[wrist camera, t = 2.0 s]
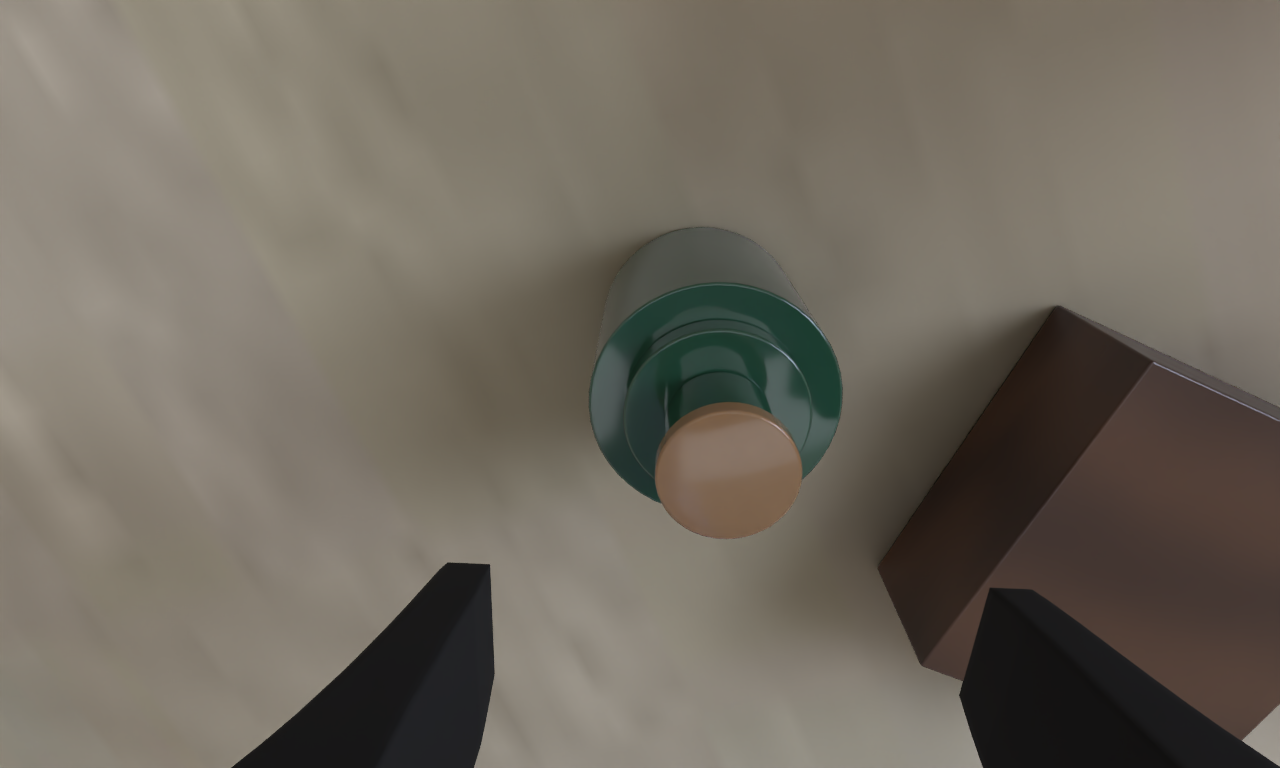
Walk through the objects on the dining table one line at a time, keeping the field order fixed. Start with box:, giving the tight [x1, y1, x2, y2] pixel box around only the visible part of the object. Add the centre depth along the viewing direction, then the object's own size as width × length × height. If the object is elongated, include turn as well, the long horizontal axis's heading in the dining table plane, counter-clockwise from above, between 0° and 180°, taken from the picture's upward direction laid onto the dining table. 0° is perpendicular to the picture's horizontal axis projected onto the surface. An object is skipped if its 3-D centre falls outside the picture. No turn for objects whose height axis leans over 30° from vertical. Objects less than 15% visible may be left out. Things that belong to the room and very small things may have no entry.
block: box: [878, 306, 1280, 741], centre depth 20 cm, size 9×9×4 cm
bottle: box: [589, 227, 843, 539], centre depth 16 cm, size 5×5×8 cm
